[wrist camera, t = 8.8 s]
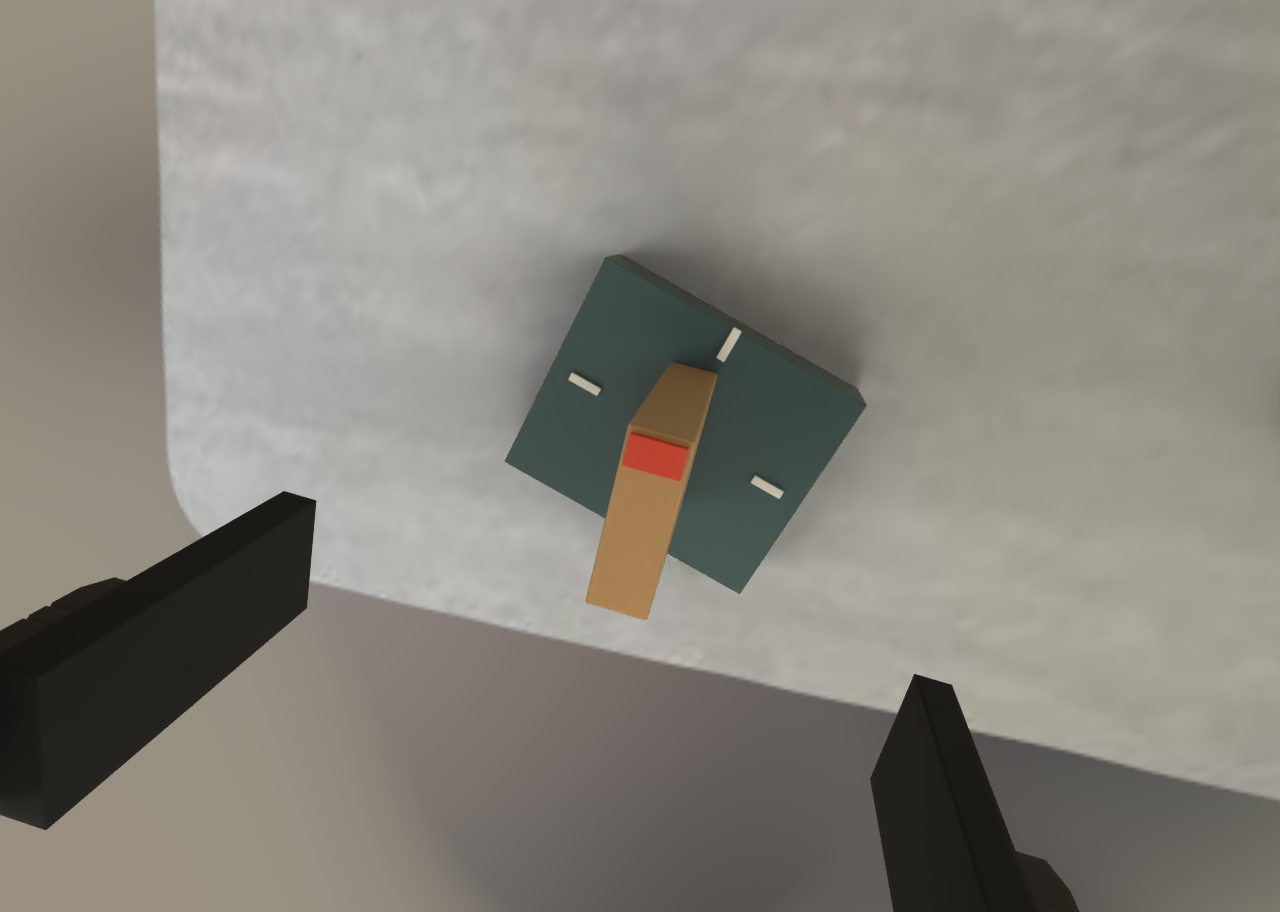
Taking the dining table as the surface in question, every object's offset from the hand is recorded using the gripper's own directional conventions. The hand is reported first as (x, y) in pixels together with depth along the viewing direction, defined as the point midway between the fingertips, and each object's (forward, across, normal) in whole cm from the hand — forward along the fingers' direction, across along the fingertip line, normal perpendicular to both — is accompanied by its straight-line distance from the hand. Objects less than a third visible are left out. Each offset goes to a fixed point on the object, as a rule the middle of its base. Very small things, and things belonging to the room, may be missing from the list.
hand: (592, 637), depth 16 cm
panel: (+20, 0, 0) cm, 20 cm away
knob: (+17, 0, 0) cm, 17 cm away
